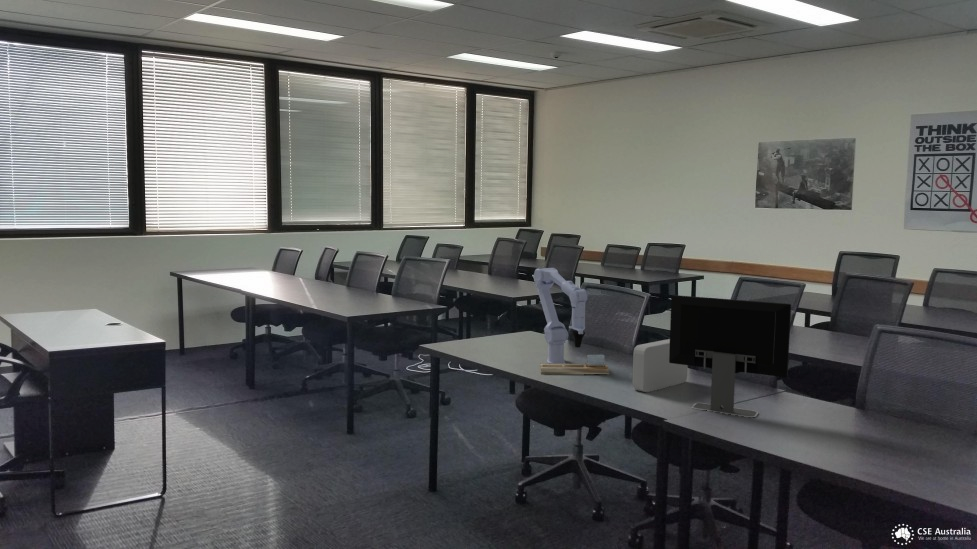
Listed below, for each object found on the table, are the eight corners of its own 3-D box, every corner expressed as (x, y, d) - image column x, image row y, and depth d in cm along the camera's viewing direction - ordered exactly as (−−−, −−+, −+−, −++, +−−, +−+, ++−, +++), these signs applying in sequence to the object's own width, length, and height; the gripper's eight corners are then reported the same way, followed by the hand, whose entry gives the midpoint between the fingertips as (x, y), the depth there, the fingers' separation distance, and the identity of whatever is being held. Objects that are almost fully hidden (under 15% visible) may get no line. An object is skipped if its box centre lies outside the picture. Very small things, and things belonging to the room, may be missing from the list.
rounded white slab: (671, 378, 308) (673, 336, 306) (687, 382, 302) (688, 339, 300) (627, 389, 290) (628, 344, 288) (642, 393, 284) (644, 348, 282)
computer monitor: (786, 416, 256) (792, 303, 251) (782, 422, 248) (788, 306, 244) (670, 399, 276) (674, 294, 272) (664, 404, 269) (667, 296, 265)
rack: (540, 368, 323) (540, 362, 323) (606, 369, 322) (606, 363, 322) (540, 373, 314) (541, 367, 314) (609, 374, 313) (609, 368, 313)
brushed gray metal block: (587, 369, 319) (587, 354, 318) (602, 369, 320) (603, 354, 319) (588, 370, 316) (588, 356, 316) (604, 370, 317) (604, 355, 316)
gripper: (566, 313, 328) (566, 343, 330) (571, 319, 314) (571, 350, 315) (582, 313, 328) (581, 343, 330) (588, 319, 314) (587, 350, 316)
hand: (577, 347), depth 323 cm, fingers closed
